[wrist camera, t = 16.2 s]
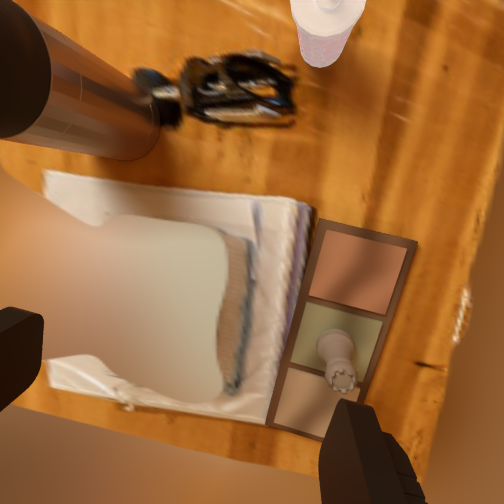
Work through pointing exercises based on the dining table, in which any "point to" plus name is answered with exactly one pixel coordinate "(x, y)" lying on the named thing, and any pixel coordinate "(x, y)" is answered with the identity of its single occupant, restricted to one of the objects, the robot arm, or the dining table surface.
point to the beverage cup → (324, 27)
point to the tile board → (338, 321)
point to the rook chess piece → (338, 359)
